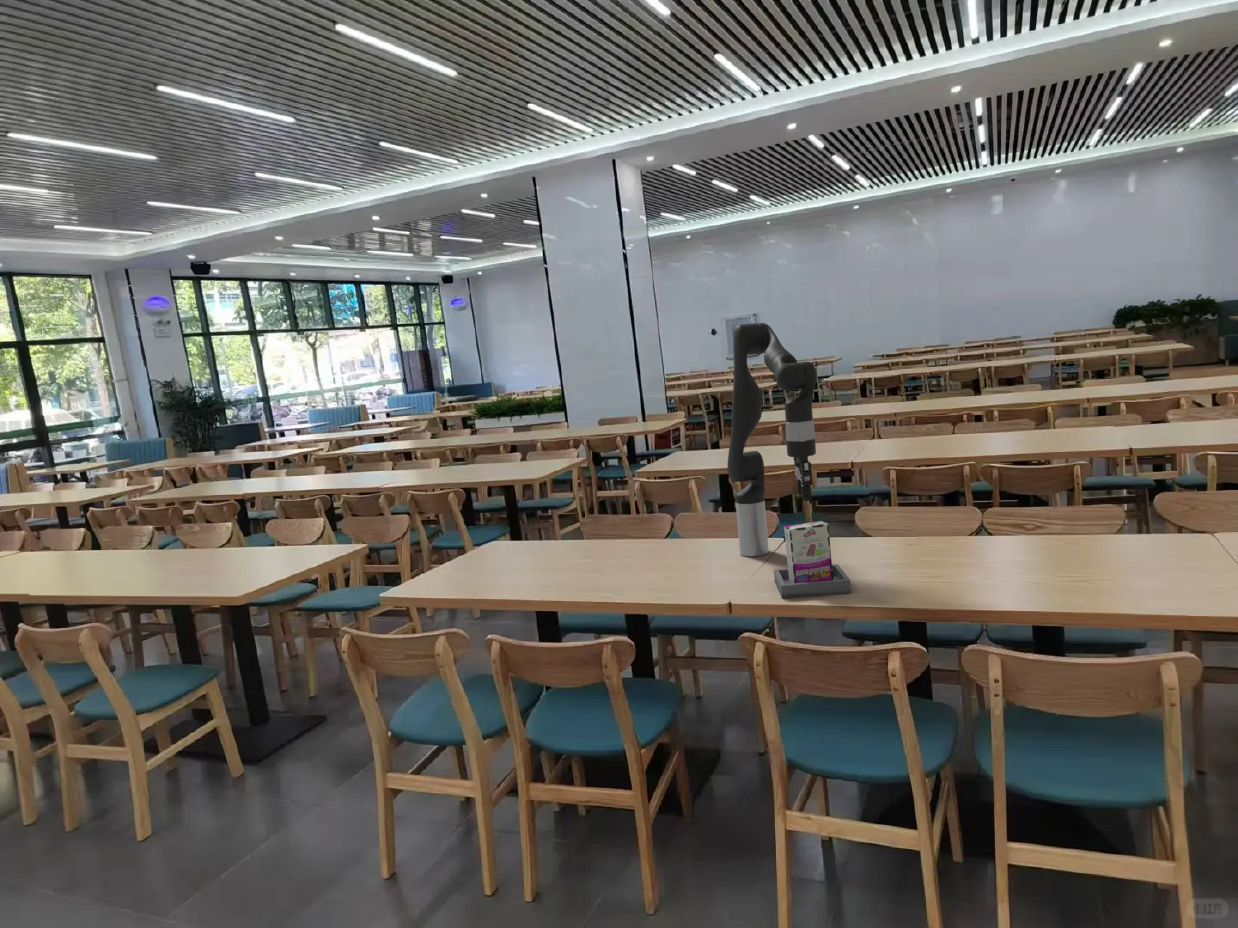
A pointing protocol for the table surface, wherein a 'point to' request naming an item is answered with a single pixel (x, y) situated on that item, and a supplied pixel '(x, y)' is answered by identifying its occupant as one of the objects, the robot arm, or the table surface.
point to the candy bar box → (808, 552)
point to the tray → (812, 584)
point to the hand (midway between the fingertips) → (804, 497)
